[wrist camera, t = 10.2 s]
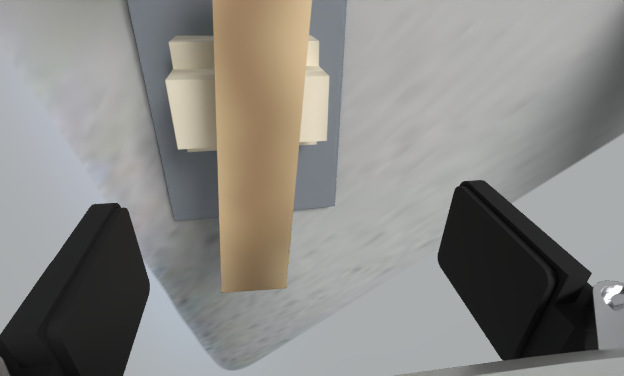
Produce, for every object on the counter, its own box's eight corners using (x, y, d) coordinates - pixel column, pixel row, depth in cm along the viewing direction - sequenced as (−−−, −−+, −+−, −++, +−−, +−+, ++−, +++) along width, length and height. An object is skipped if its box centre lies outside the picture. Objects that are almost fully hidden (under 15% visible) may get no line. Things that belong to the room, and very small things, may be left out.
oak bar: (303, -94, 16) (322, -114, 13) (279, 248, 26) (286, 288, 23) (213, -109, 15) (208, -135, 12) (223, 250, 25) (221, 292, 22)
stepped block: (310, 35, 25) (330, 48, 20) (309, 129, 28) (326, 162, 23) (175, 35, 23) (159, 50, 18) (191, 136, 27) (182, 172, 22)
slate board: (347, -96, 22) (352, -99, 21) (331, 199, 33) (334, 206, 32) (109, -110, 20) (102, -115, 19) (176, 213, 31) (174, 220, 30)
